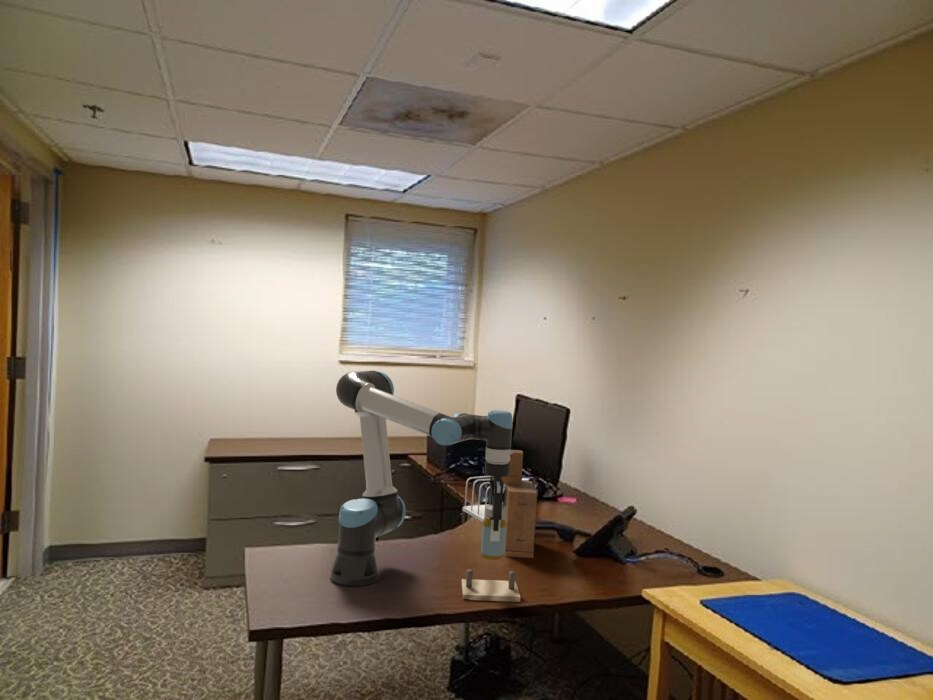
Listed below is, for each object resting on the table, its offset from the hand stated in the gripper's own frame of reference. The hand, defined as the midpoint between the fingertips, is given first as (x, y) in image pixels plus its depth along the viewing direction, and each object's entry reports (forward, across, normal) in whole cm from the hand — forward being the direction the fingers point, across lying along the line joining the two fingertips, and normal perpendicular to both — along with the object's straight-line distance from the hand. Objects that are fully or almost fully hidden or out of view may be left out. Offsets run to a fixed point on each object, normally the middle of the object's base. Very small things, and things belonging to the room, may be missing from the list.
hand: (493, 536), depth 193 cm
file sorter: (+17, +82, -8) cm, 84 cm away
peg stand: (+17, 0, 0) cm, 17 cm away
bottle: (+6, 0, 0) cm, 6 cm away
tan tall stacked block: (+17, +43, -13) cm, 48 cm away
